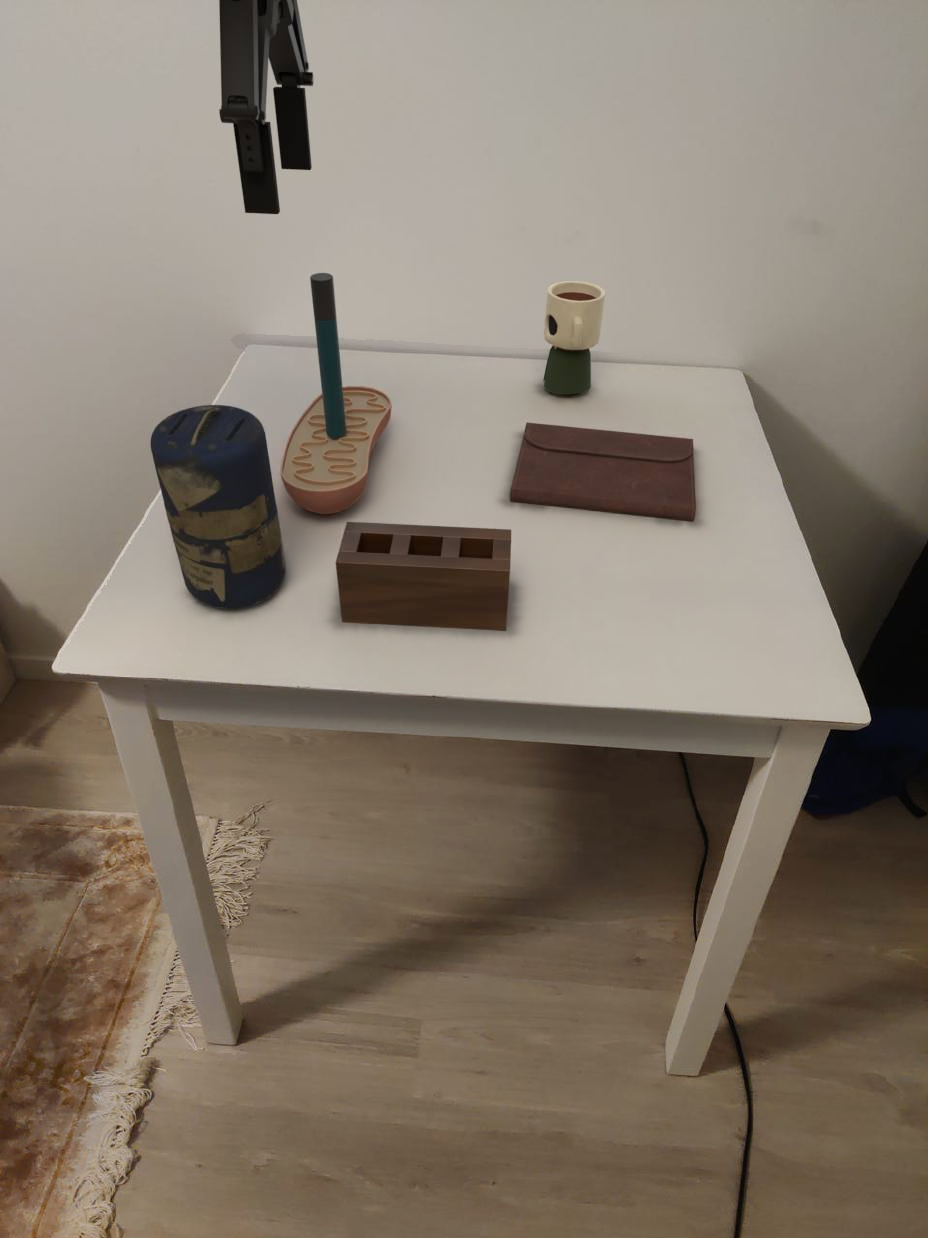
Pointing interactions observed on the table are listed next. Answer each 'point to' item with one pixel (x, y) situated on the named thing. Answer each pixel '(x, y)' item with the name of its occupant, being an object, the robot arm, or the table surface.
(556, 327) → the character mug
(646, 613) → the table surface
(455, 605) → the pen holder
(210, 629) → the table surface
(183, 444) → the canister
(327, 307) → the pen
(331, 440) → the anatomical model
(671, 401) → the table surface
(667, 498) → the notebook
